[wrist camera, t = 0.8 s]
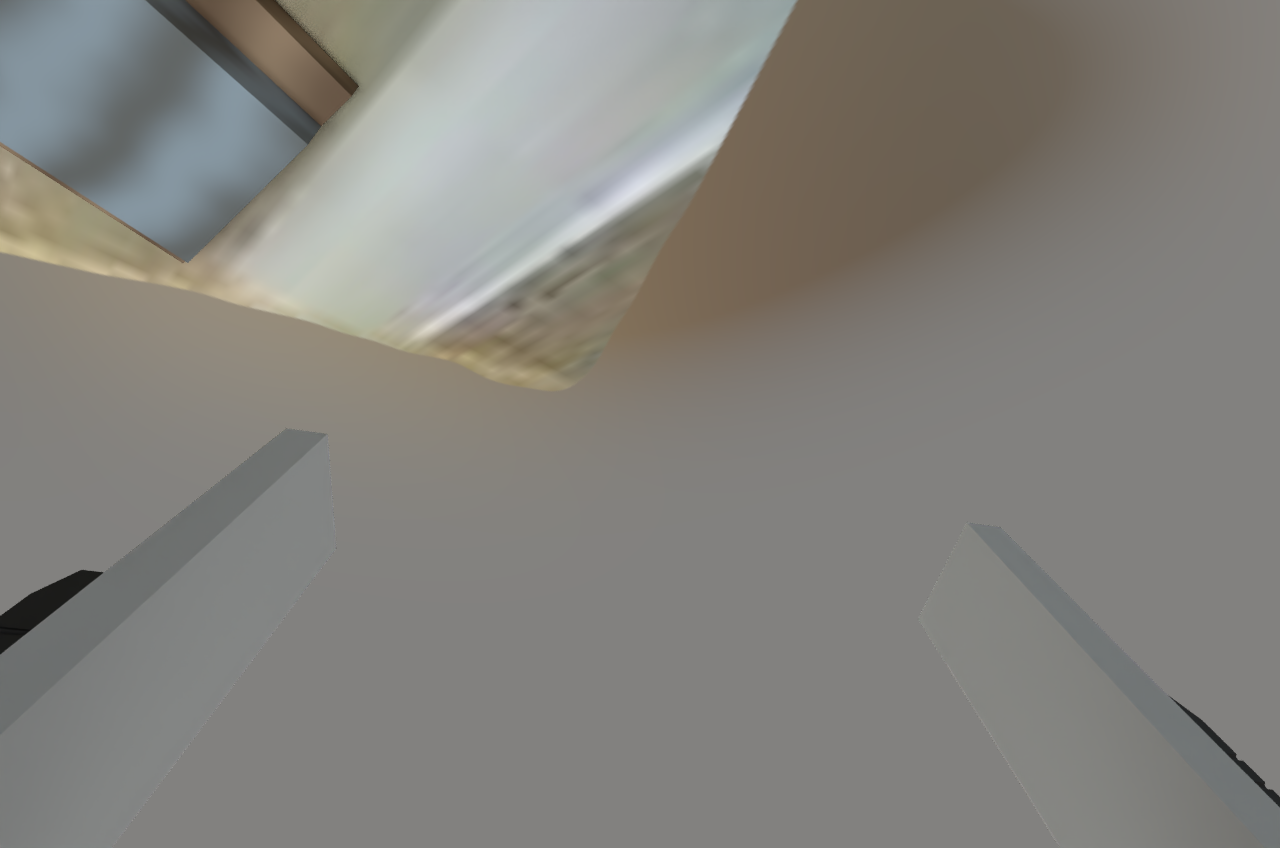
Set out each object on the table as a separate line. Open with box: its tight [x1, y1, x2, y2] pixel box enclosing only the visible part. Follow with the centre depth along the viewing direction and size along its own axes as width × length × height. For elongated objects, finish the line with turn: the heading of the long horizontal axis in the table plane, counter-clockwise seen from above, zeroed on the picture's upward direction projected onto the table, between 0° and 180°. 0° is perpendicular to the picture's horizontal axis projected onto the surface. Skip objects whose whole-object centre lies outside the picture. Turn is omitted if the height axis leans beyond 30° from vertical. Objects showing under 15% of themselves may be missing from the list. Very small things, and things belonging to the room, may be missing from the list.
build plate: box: [0, 0, 358, 263], centre depth 33 cm, size 14×20×4 cm
